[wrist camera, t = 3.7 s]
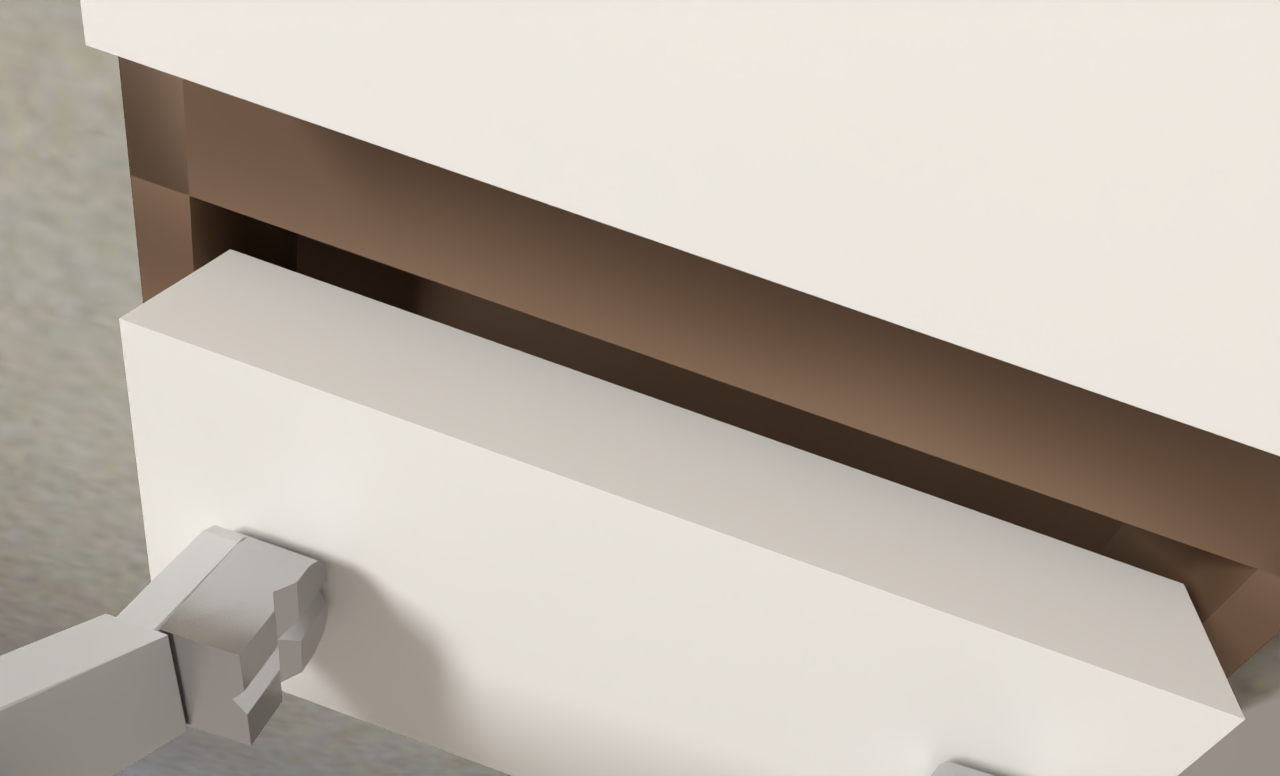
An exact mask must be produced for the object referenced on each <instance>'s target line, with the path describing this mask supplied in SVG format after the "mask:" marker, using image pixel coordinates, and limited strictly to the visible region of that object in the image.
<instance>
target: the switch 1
mask: <svg viewBox="0 0 1280 776" xmlns="http://www.w3.org/2000/svg"><path fill="white" fill-rule="evenodd" d="M80 1H81V10H82V18H83V26H84V34H85V43H86V45H87V46H90V47H93V48H96V49H99V50H102V51H105V52H108V53H111V54H113V55H116V56H119V57H122V58H125V59H128V60H131V61H134V62H137V63H140V64H143V65H145V66H148V67H151V68H154V69H157V70H160V71H163V72H166V73H169V74H172V75H174V76H177V77H180V78H183V79H186V80H189V81H192V82H195V83H198V84H201V85H203V86H206V87H209V88H212V89H215V90H218V91H221V92H224V93H227V94H230V95H233V96H235V97H238V98H241V99H244V100H247V101H250V102H253V103H256V104H259V105H262V106H264V107H267V108H270V109H273V110H276V111H279V112H282V113H285V114H288V115H291V116H293V117H296V118H299V119H302V120H305V121H308V122H311V123H314V124H317V125H320V126H323V127H325V128H328V129H331V130H334V131H337V132H340V133H343V134H346V135H349V136H352V137H354V138H357V139H360V140H363V141H366V142H369V143H372V144H375V145H378V146H381V147H383V148H386V149H389V150H392V151H395V152H398V153H401V154H404V155H407V156H410V157H413V158H415V159H418V160H421V161H424V162H427V163H430V164H433V165H436V166H439V167H442V168H444V169H447V170H450V171H453V172H456V173H459V174H462V175H465V176H468V177H471V178H474V179H476V180H479V181H482V182H485V183H488V184H491V185H494V186H497V187H500V188H503V189H505V190H508V191H511V192H514V193H517V194H520V195H523V196H526V197H529V198H532V199H534V200H537V201H540V202H543V203H546V204H549V205H552V206H555V207H558V208H561V209H564V210H566V211H569V212H572V213H575V214H578V215H581V216H584V217H587V218H590V219H593V220H595V221H598V222H601V223H604V224H607V225H610V226H613V227H616V228H619V229H622V230H624V231H627V232H630V233H633V234H636V235H639V236H642V237H645V238H648V239H651V240H654V241H656V242H659V243H662V244H665V245H668V246H671V247H674V248H677V249H680V250H683V251H685V252H688V253H691V254H694V255H697V256H700V257H703V258H706V259H709V260H712V261H714V262H717V263H720V264H723V265H726V266H729V267H732V268H735V269H738V270H741V271H744V272H746V273H749V274H752V275H755V276H758V277H761V278H764V279H767V280H770V281H773V282H775V283H778V284H781V285H784V286H787V287H790V288H793V289H796V290H799V291H802V292H805V293H807V294H810V295H813V296H816V297H819V298H822V299H825V300H828V301H831V302H834V303H836V304H839V305H842V306H845V307H848V308H851V309H854V310H857V311H860V312H863V313H865V314H868V315H871V316H874V317H877V318H880V319H883V320H886V321H889V322H892V323H895V324H897V325H900V326H903V327H906V328H909V329H912V330H915V331H918V332H921V333H924V334H926V335H929V336H932V337H935V338H938V339H941V340H944V341H947V342H950V343H953V344H955V345H958V346H961V347H964V348H967V349H970V350H973V351H976V352H979V353H982V354H985V355H987V356H990V357H993V358H996V359H999V360H1002V361H1005V362H1008V363H1011V364H1014V365H1016V366H1019V367H1022V368H1025V369H1028V370H1031V371H1034V372H1037V373H1040V374H1043V375H1045V376H1048V377H1051V378H1054V379H1057V380H1060V381H1063V382H1066V383H1069V384H1072V385H1075V386H1077V387H1080V388H1083V389H1086V390H1089V391H1092V392H1095V393H1098V394H1101V395H1104V396H1106V397H1109V398H1112V399H1115V400H1118V401H1121V402H1124V403H1127V404H1130V405H1133V406H1136V407H1138V408H1141V409H1144V410H1147V411H1150V412H1153V413H1156V414H1159V415H1162V416H1165V417H1167V418H1170V419H1173V420H1176V421H1179V422H1182V423H1185V424H1188V425H1191V426H1194V427H1196V428H1199V429H1202V430H1205V431H1208V432H1211V433H1214V434H1217V435H1220V436H1223V437H1226V438H1228V439H1231V440H1234V441H1237V442H1240V443H1243V444H1246V445H1249V446H1252V447H1255V448H1257V449H1260V450H1263V451H1266V452H1269V453H1272V454H1275V455H1278V456H1280V0H80Z"/></svg>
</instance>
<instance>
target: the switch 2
mask: <svg viewBox="0 0 1280 776" xmlns="http://www.w3.org/2000/svg"><path fill="white" fill-rule="evenodd" d="M119 322H120V330H121V338H122V346H123V355H124V363H125V371H126V379H127V388H128V396H129V404H130V412H131V420H132V429H133V437H134V445H135V453H136V461H137V470H138V478H139V486H140V494H141V502H142V511H143V519H144V527H145V535H146V544H147V552H148V560H149V568H150V576H151V582H152V581H153V580H154V579H155V577H156V576H157V575H158V574H159V573H160V572H161V571H162V570H163V569H164V568H165V567H166V566H167V565H168V564H169V563H170V562H171V561H172V560H173V559H174V558H175V557H176V556H177V555H178V554H179V553H180V552H181V551H182V550H183V549H184V548H185V547H186V546H187V545H188V544H189V543H190V542H191V541H192V540H193V539H194V538H195V537H196V536H197V535H198V534H199V533H200V532H202V531H204V530H206V529H208V528H210V527H212V526H213V525H216V526H219V527H222V528H225V529H229V530H232V531H235V532H238V533H241V534H244V535H247V536H250V537H252V538H255V539H258V540H261V541H264V542H267V543H270V544H272V545H275V546H278V547H281V548H284V549H287V550H290V551H293V552H296V553H298V554H301V555H304V556H307V557H310V558H313V559H316V560H319V561H322V562H324V563H325V567H326V578H327V580H326V582H325V583H324V584H323V586H322V587H321V589H320V590H319V592H320V594H321V595H322V596H323V598H324V599H325V600H326V602H327V611H328V616H327V621H326V625H325V630H324V633H323V635H322V638H321V640H320V642H319V644H318V647H317V649H316V651H315V653H314V655H313V656H312V658H311V659H310V661H309V662H308V664H307V665H306V667H305V668H304V670H303V671H302V672H301V673H299V674H297V675H295V676H293V677H291V678H289V679H287V680H285V681H283V682H281V690H282V691H284V692H287V693H290V694H292V695H295V696H298V697H300V698H303V699H306V700H309V701H311V702H314V703H317V704H319V705H322V706H325V707H328V708H330V709H333V710H336V711H338V712H341V713H344V714H346V715H349V716H352V717H355V718H357V719H360V720H363V721H365V722H368V723H371V724H374V725H376V726H379V727H382V728H384V729H387V730H390V731H392V732H395V733H398V734H401V735H403V736H406V737H409V738H411V739H414V740H417V741H419V742H422V743H425V744H428V745H430V746H433V747H436V748H438V749H441V750H444V751H447V752H449V753H452V754H455V755H457V756H460V757H463V758H465V759H468V760H471V761H474V762H476V763H479V764H482V765H484V766H487V767H490V768H493V769H495V770H498V771H501V772H503V773H506V774H509V775H511V776H931V775H932V773H933V772H934V771H935V770H936V768H937V767H938V766H939V764H941V763H944V762H947V761H949V762H952V763H955V764H959V765H962V766H965V767H969V768H972V769H975V770H978V771H982V772H985V773H988V774H992V775H995V776H1178V775H1179V774H1180V773H1181V772H1183V771H1184V770H1185V769H1186V768H1187V767H1189V766H1190V765H1191V764H1192V763H1193V762H1195V761H1196V760H1197V759H1198V758H1199V757H1201V756H1202V755H1203V754H1204V753H1205V752H1207V751H1208V750H1209V749H1210V748H1211V747H1213V746H1214V745H1215V744H1216V743H1217V742H1219V741H1220V740H1221V739H1222V738H1223V737H1225V736H1226V735H1227V734H1228V733H1229V732H1231V731H1232V730H1233V729H1234V728H1235V727H1237V726H1238V725H1239V724H1240V723H1241V722H1243V721H1244V720H1245V718H1244V716H1243V713H1242V711H1241V709H1240V707H1239V705H1238V702H1237V700H1236V698H1235V696H1234V694H1233V691H1232V689H1231V687H1230V685H1229V683H1228V680H1227V678H1226V676H1225V674H1224V672H1223V669H1222V667H1221V665H1220V663H1219V661H1218V658H1217V656H1216V654H1215V652H1214V650H1213V647H1212V645H1211V643H1210V641H1209V639H1208V636H1207V634H1206V632H1205V630H1204V628H1203V625H1202V623H1201V621H1200V619H1199V617H1198V614H1197V612H1196V610H1195V608H1194V606H1193V603H1192V601H1191V599H1190V597H1189V594H1188V592H1187V590H1186V588H1185V586H1184V584H1182V583H1179V582H1177V581H1174V580H1171V579H1168V578H1165V577H1162V576H1160V575H1157V574H1154V573H1151V572H1148V571H1145V570H1142V569H1140V568H1137V567H1134V566H1131V565H1128V564H1125V563H1123V562H1120V561H1117V560H1114V559H1111V558H1108V557H1105V556H1103V555H1100V554H1097V553H1094V552H1091V551H1088V550H1086V549H1083V548H1080V547H1077V546H1074V545H1071V544H1068V543H1066V542H1063V541H1060V540H1057V539H1054V538H1051V537H1048V536H1046V535H1043V534H1040V533H1037V532H1034V531H1031V530H1029V529H1026V528H1023V527H1020V526H1017V525H1014V524H1011V523H1009V522H1006V521H1003V520H1000V519H997V518H994V517H992V516H989V515H986V514H983V513H980V512H977V511H974V510H972V509H969V508H966V507H963V506H960V505H957V504H955V503H952V502H949V501H946V500H943V499H940V498H937V497H935V496H932V495H929V494H926V493H923V492H920V491H917V490H915V489H912V488H909V487H906V486H903V485H900V484H898V483H895V482H892V481H889V480H886V479H883V478H880V477H878V476H875V475H872V474H869V473H866V472H863V471H861V470H858V469H855V468H852V467H849V466H846V465H843V464H841V463H838V462H835V461H832V460H829V459H826V458H824V457H821V456H818V455H815V454H812V453H809V452H806V451H804V450H801V449H798V448H795V447H792V446H789V445H786V444H784V443H781V442H778V441H775V440H772V439H769V438H767V437H764V436H761V435H758V434H755V433H752V432H749V431H747V430H744V429H741V428H738V427H735V426H732V425H730V424H727V423H724V422H721V421H718V420H715V419H712V418H710V417H707V416H704V415H701V414H698V413H695V412H693V411H690V410H687V409H684V408H681V407H678V406H675V405H673V404H670V403H667V402H664V401H661V400H658V399H656V398H653V397H650V396H647V395H644V394H641V393H638V392H636V391H633V390H630V389H627V388H624V387H621V386H618V385H616V384H613V383H610V382H607V381H604V380H601V379H599V378H596V377H593V376H590V375H587V374H584V373H581V372H579V371H576V370H573V369H570V368H567V367H564V366H562V365H559V364H556V363H553V362H550V361H547V360H544V359H542V358H539V357H536V356H533V355H530V354H527V353H525V352H522V351H519V350H516V349H513V348H510V347H507V346H505V345H502V344H499V343H496V342H493V341H490V340H487V339H485V338H482V337H479V336H476V335H473V334H470V333H468V332H465V331H462V330H459V329H456V328H453V327H450V326H448V325H445V324H442V323H439V322H436V321H433V320H431V319H428V318H425V317H422V316H419V315H416V314H413V313H411V312H408V311H405V310H402V309H399V308H396V307H394V306H391V305H388V304H385V303H382V302H379V301H376V300H374V299H371V298H368V297H365V296H362V295H359V294H356V293H354V292H351V291H348V290H345V289H342V288H339V287H337V286H334V285H331V284H328V283H325V282H322V281H319V280H317V279H314V278H311V277H308V276H305V275H302V274H300V273H297V272H294V271H291V270H288V269H285V268H282V267H280V266H277V265H274V264H271V263H268V262H265V261H263V260H260V259H257V258H254V257H251V256H248V255H245V254H243V253H240V252H237V251H234V250H231V249H230V250H228V251H227V252H225V253H223V254H222V255H220V256H219V257H217V258H215V259H214V260H212V261H211V262H209V263H207V264H206V265H204V266H203V267H201V268H199V269H198V270H196V271H195V272H193V273H191V274H190V275H188V276H187V277H185V278H183V279H182V280H180V281H179V282H177V283H175V284H174V285H172V286H170V287H169V288H167V289H166V290H164V291H162V292H161V293H159V294H158V295H156V296H154V297H153V298H151V299H150V300H148V301H146V302H145V303H143V304H142V305H140V306H138V307H137V308H135V309H134V310H132V311H130V312H129V313H127V314H126V315H124V316H122V317H121V318H119Z"/></svg>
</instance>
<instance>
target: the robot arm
mask: <svg viewBox="0 0 1280 776" xmlns="http://www.w3.org/2000/svg"><path fill="white" fill-rule="evenodd" d="M326 580H327V578H326V567H325V563H324V562H322V561H319V560H316V559H313V558H310V557H307V556H304V555H301V554H298V553H296V552H293V551H290V550H287V549H284V548H281V547H278V546H275V545H272V544H270V543H267V542H264V541H261V540H258V539H255V538H252V537H250V536H247V535H244V534H241V533H238V532H235V531H232V530H229V529H225V528H222V527H219V526H216V525H213V526H212V527H210V528H208V529H206V530H204V531H202V532H200V533H199V534H198V535H197V536H196V537H195V538H194V539H193V540H192V541H191V542H190V543H189V544H188V545H187V546H186V547H185V548H184V549H183V550H182V551H181V552H180V553H179V554H178V555H177V556H176V557H175V558H174V559H173V560H172V561H171V562H170V563H169V564H168V565H167V566H166V567H165V568H164V569H163V570H162V571H161V572H160V573H159V574H158V575H157V576H156V577H155V579H154V580H153V581H152V582H151V583H150V584H149V585H148V586H147V587H146V588H145V589H144V590H143V591H142V592H141V593H140V594H139V595H138V596H137V597H136V598H135V599H134V600H133V601H132V602H131V603H130V604H129V605H128V606H127V607H126V608H125V609H124V610H123V611H122V612H121V613H120V614H119V615H118V616H117V617H115V616H112V615H108V614H104V615H101V616H99V617H96V618H94V619H91V620H89V621H86V622H84V623H81V624H79V625H76V626H74V627H71V628H69V629H66V630H64V631H61V632H59V633H56V634H54V635H51V636H49V637H46V638H44V639H41V640H39V641H36V642H34V643H31V644H29V645H26V646H24V647H21V648H19V649H16V650H14V651H11V652H9V653H6V654H4V655H1V656H0V776H114V775H115V774H117V773H118V772H120V771H122V770H123V769H125V768H127V767H128V766H130V765H131V764H133V763H135V762H136V761H138V760H140V759H141V758H143V757H145V756H146V755H148V754H149V753H151V752H153V751H154V750H156V749H158V748H159V747H161V746H162V745H164V744H166V743H167V742H169V741H171V740H172V739H174V738H175V737H177V736H179V735H180V734H182V733H184V732H185V731H187V726H189V727H192V728H195V729H198V730H202V731H205V732H208V733H211V734H215V735H218V736H221V737H224V738H227V739H231V740H234V741H237V742H240V743H244V744H247V745H250V746H251V745H252V744H253V742H254V741H255V739H256V738H257V736H258V735H259V734H260V732H261V731H262V729H263V728H264V726H265V725H266V724H267V722H268V721H269V719H270V718H271V716H272V715H273V713H274V712H275V711H276V709H277V708H278V706H279V705H280V703H281V702H282V690H281V682H283V681H285V680H287V679H289V678H291V677H293V676H295V675H297V674H299V673H301V672H302V671H303V670H304V668H305V667H306V665H307V664H308V662H309V661H310V659H311V658H312V656H313V655H314V653H315V651H316V649H317V647H318V644H319V642H320V640H321V638H322V635H323V633H324V630H325V625H326V621H327V616H328V611H327V602H326V600H325V599H324V598H323V596H322V595H321V594H320V592H319V590H320V589H321V587H322V586H323V584H324V583H325V582H326ZM931 776H995V775H992V774H988V773H985V772H982V771H978V770H975V769H972V768H969V767H965V766H962V765H959V764H955V763H952V762H949V761H947V762H944V763H941V764H939V766H938V767H937V768H936V770H935V771H934V772H933V773H932V775H931Z"/></svg>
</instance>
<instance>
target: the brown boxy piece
mask: <svg viewBox="0 0 1280 776" xmlns="http://www.w3.org/2000/svg"><path fill="white" fill-rule="evenodd" d="M118 58H119V68H120V78H121V88H122V98H123V108H124V118H125V127H126V137H127V147H128V157H129V167H130V177H131V187H132V197H133V207H134V217H135V227H136V237H137V247H138V257H139V267H140V276H141V286H142V296H143V303H145V302H146V301H148V300H150V299H151V298H153V297H154V296H156V295H158V294H159V293H161V292H162V291H164V290H166V289H167V288H169V287H170V286H172V285H174V284H175V283H177V282H179V281H180V280H182V279H183V278H185V277H187V276H188V275H190V274H191V273H193V272H195V271H196V270H198V269H199V268H201V267H203V266H204V265H206V264H207V263H209V262H211V261H212V260H214V259H215V258H217V257H219V256H220V255H222V254H223V253H225V252H227V251H228V250H230V249H231V250H234V251H237V252H240V253H243V254H245V255H248V256H251V257H254V258H257V259H260V260H263V261H265V262H268V263H271V264H274V265H277V266H280V267H282V268H285V269H288V270H291V271H294V272H297V273H300V274H302V275H305V276H308V277H311V278H314V279H317V280H319V281H322V282H325V283H328V284H331V285H334V286H337V287H339V288H342V289H345V290H348V291H351V292H354V293H356V294H359V295H362V296H365V297H368V298H371V299H374V300H376V301H379V302H382V303H385V304H388V305H391V306H394V307H396V308H399V309H402V310H405V311H408V312H411V313H413V314H416V315H419V316H422V317H425V318H428V319H431V320H433V321H436V322H439V323H442V324H445V325H448V326H450V327H453V328H456V329H459V330H462V331H465V332H468V333H470V334H473V335H476V336H479V337H482V338H485V339H487V340H490V341H493V342H496V343H499V344H502V345H505V346H507V347H510V348H513V349H516V350H519V351H522V352H525V353H527V354H530V355H533V356H536V357H539V358H542V359H544V360H547V361H550V362H553V363H556V364H559V365H562V366H564V367H567V368H570V369H573V370H576V371H579V372H581V373H584V374H587V375H590V376H593V377H596V378H599V379H601V380H604V381H607V382H610V383H613V384H616V385H618V386H621V387H624V388H627V389H630V390H633V391H636V392H638V393H641V394H644V395H647V396H650V397H653V398H656V399H658V400H661V401H664V402H667V403H670V404H673V405H675V406H678V407H681V408H684V409H687V410H690V411H693V412H695V413H698V414H701V415H704V416H707V417H710V418H712V419H715V420H718V421H721V422H724V423H727V424H730V425H732V426H735V427H738V428H741V429H744V430H747V431H749V432H752V433H755V434H758V435H761V436H764V437H767V438H769V439H772V440H775V441H778V442H781V443H784V444H786V445H789V446H792V447H795V448H798V449H801V450H804V451H806V452H809V453H812V454H815V455H818V456H821V457H824V458H826V459H829V460H832V461H835V462H838V463H841V464H843V465H846V466H849V467H852V468H855V469H858V470H861V471H863V472H866V473H869V474H872V475H875V476H878V477H880V478H883V479H886V480H889V481H892V482H895V483H898V484H900V485H903V486H906V487H909V488H912V489H915V490H917V491H920V492H923V493H926V494H929V495H932V496H935V497H937V498H940V499H943V500H946V501H949V502H952V503H955V504H957V505H960V506H963V507H966V508H969V509H972V510H974V511H977V512H980V513H983V514H986V515H989V516H992V517H994V518H997V519H1000V520H1003V521H1006V522H1009V523H1011V524H1014V525H1017V526H1020V527H1023V528H1026V529H1029V530H1031V531H1034V532H1037V533H1040V534H1043V535H1046V536H1048V537H1051V538H1054V539H1057V540H1060V541H1063V542H1066V543H1068V544H1071V545H1074V546H1077V547H1080V548H1083V549H1086V550H1088V551H1091V552H1094V553H1097V554H1100V555H1103V556H1105V557H1108V558H1111V559H1114V560H1117V561H1120V562H1123V563H1125V564H1128V565H1131V566H1134V567H1137V568H1140V569H1142V570H1145V571H1148V572H1151V573H1154V574H1157V575H1160V576H1162V577H1165V578H1168V579H1171V580H1174V581H1177V582H1179V583H1182V584H1184V586H1185V588H1186V590H1187V592H1188V594H1189V597H1190V599H1191V601H1192V603H1193V606H1194V608H1195V610H1196V612H1197V614H1198V617H1199V619H1200V621H1201V623H1202V625H1203V628H1204V630H1205V632H1206V634H1207V636H1208V639H1209V641H1210V643H1211V645H1212V647H1213V650H1214V652H1215V654H1216V656H1217V658H1218V661H1219V663H1220V665H1221V667H1222V669H1223V672H1224V674H1225V676H1226V678H1228V677H1229V676H1230V675H1231V674H1232V673H1233V672H1234V671H1235V670H1237V669H1238V668H1239V667H1240V666H1241V665H1242V664H1243V663H1244V662H1245V661H1247V660H1248V659H1249V658H1250V657H1251V656H1252V655H1253V654H1254V653H1256V652H1257V651H1258V650H1259V649H1260V648H1261V647H1262V646H1263V645H1265V644H1266V643H1267V642H1268V641H1269V640H1270V639H1271V638H1272V637H1274V636H1275V635H1276V634H1277V633H1278V632H1279V631H1280V456H1278V455H1275V454H1272V453H1269V452H1266V451H1263V450H1260V449H1257V448H1255V447H1252V446H1249V445H1246V444H1243V443H1240V442H1237V441H1234V440H1231V439H1228V438H1226V437H1223V436H1220V435H1217V434H1214V433H1211V432H1208V431H1205V430H1202V429H1199V428H1196V427H1194V426H1191V425H1188V424H1185V423H1182V422H1179V421H1176V420H1173V419H1170V418H1167V417H1165V416H1162V415H1159V414H1156V413H1153V412H1150V411H1147V410H1144V409H1141V408H1138V407H1136V406H1133V405H1130V404H1127V403H1124V402H1121V401H1118V400H1115V399H1112V398H1109V397H1106V396H1104V395H1101V394H1098V393H1095V392H1092V391H1089V390H1086V389H1083V388H1080V387H1077V386H1075V385H1072V384H1069V383H1066V382H1063V381H1060V380H1057V379H1054V378H1051V377H1048V376H1045V375H1043V374H1040V373H1037V372H1034V371H1031V370H1028V369H1025V368H1022V367H1019V366H1016V365H1014V364H1011V363H1008V362H1005V361H1002V360H999V359H996V358H993V357H990V356H987V355H985V354H982V353H979V352H976V351H973V350H970V349H967V348H964V347H961V346H958V345H955V344H953V343H950V342H947V341H944V340H941V339H938V338H935V337H932V336H929V335H926V334H924V333H921V332H918V331H915V330H912V329H909V328H906V327H903V326H900V325H897V324H895V323H892V322H889V321H886V320H883V319H880V318H877V317H874V316H871V315H868V314H865V313H863V312H860V311H857V310H854V309H851V308H848V307H845V306H842V305H839V304H836V303H834V302H831V301H828V300H825V299H822V298H819V297H816V296H813V295H810V294H807V293H805V292H802V291H799V290H796V289H793V288H790V287H787V286H784V285H781V284H778V283H775V282H773V281H770V280H767V279H764V278H761V277H758V276H755V275H752V274H749V273H746V272H744V271H741V270H738V269H735V268H732V267H729V266H726V265H723V264H720V263H717V262H714V261H712V260H709V259H706V258H703V257H700V256H697V255H694V254H691V253H688V252H685V251H683V250H680V249H677V248H674V247H671V246H668V245H665V244H662V243H659V242H656V241H654V240H651V239H648V238H645V237H642V236H639V235H636V234H633V233H630V232H627V231H624V230H622V229H619V228H616V227H613V226H610V225H607V224H604V223H601V222H598V221H595V220H593V219H590V218H587V217H584V216H581V215H578V214H575V213H572V212H569V211H566V210H564V209H561V208H558V207H555V206H552V205H549V204H546V203H543V202H540V201H537V200H534V199H532V198H529V197H526V196H523V195H520V194H517V193H514V192H511V191H508V190H505V189H503V188H500V187H497V186H494V185H491V184H488V183H485V182H482V181H479V180H476V179H474V178H471V177H468V176H465V175H462V174H459V173H456V172H453V171H450V170H447V169H444V168H442V167H439V166H436V165H433V164H430V163H427V162H424V161H421V160H418V159H415V158H413V157H410V156H407V155H404V154H401V153H398V152H395V151H392V150H389V149H386V148H383V147H381V146H378V145H375V144H372V143H369V142H366V141H363V140H360V139H357V138H354V137H352V136H349V135H346V134H343V133H340V132H337V131H334V130H331V129H328V128H325V127H323V126H320V125H317V124H314V123H311V122H308V121H305V120H302V119H299V118H296V117H293V116H291V115H288V114H285V113H282V112H279V111H276V110H273V109H270V108H267V107H264V106H262V105H259V104H256V103H253V102H250V101H247V100H244V99H241V98H238V97H235V96H233V95H230V94H227V93H224V92H221V91H218V90H215V89H212V88H209V87H206V86H203V85H201V84H198V83H195V82H192V81H189V80H186V79H183V78H180V77H177V76H174V75H172V74H169V73H166V72H163V71H160V70H157V69H154V68H151V67H148V66H145V65H143V64H140V63H137V62H134V61H131V60H128V59H125V58H122V57H119V56H118Z"/></svg>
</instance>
